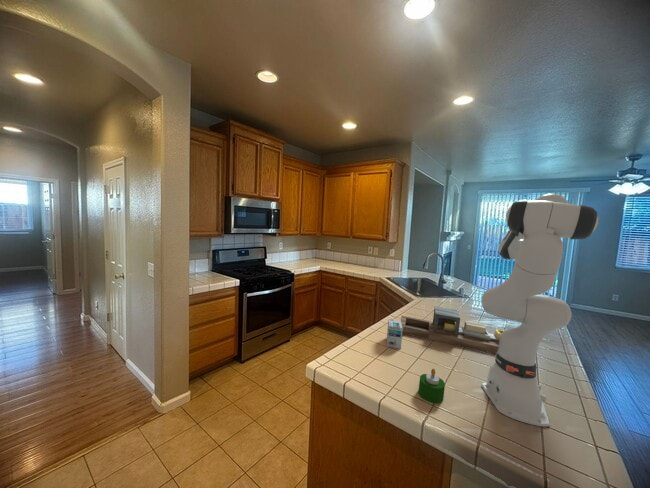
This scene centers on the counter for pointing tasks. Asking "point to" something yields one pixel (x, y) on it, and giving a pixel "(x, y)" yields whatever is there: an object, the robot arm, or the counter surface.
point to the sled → (451, 325)
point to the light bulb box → (394, 333)
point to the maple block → (475, 327)
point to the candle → (431, 387)
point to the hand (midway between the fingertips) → (525, 295)
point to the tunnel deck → (438, 334)
